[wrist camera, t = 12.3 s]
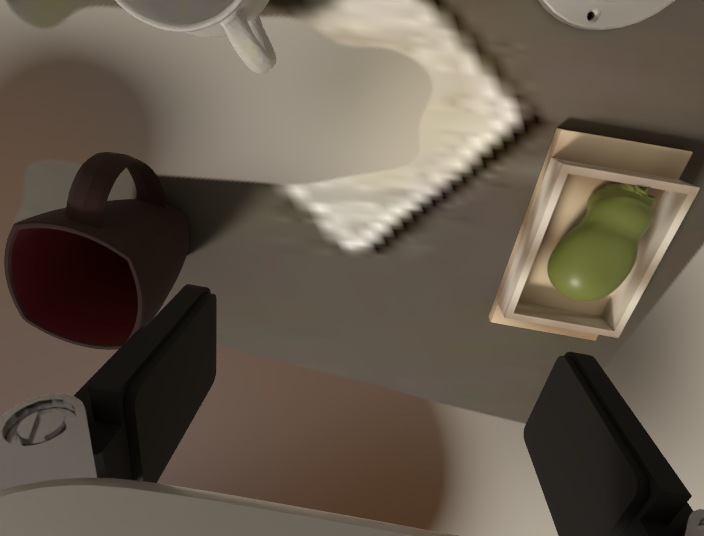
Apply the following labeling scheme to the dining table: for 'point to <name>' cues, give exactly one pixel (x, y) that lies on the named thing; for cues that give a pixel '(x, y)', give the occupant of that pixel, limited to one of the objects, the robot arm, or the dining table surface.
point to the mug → (98, 257)
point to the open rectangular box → (568, 211)
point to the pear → (602, 243)
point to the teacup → (212, 24)
